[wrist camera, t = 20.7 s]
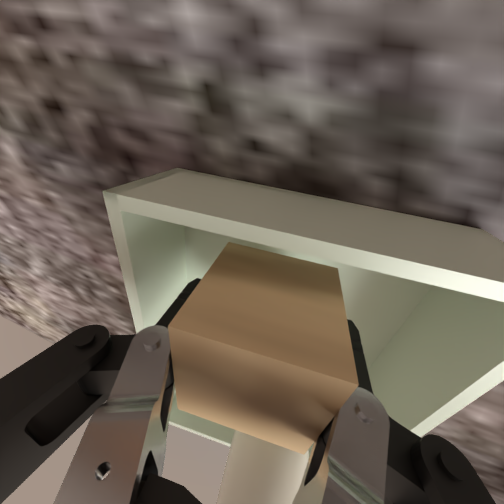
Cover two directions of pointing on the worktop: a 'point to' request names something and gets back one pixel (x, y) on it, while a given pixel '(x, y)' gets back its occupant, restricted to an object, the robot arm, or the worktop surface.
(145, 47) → the worktop surface
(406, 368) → the box
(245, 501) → the shaker
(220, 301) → the oak block
